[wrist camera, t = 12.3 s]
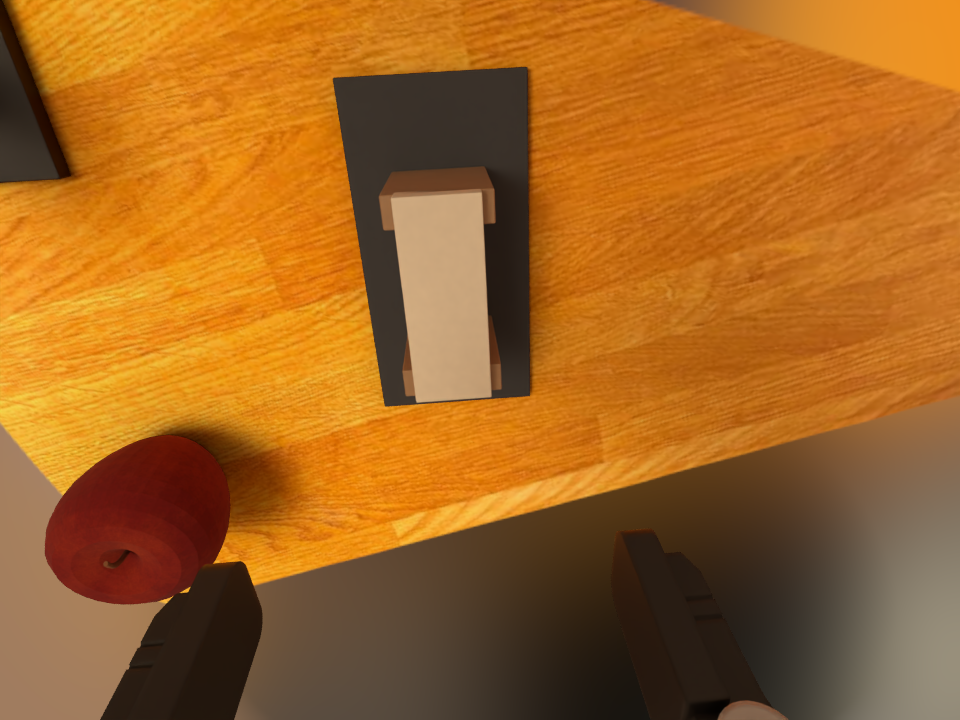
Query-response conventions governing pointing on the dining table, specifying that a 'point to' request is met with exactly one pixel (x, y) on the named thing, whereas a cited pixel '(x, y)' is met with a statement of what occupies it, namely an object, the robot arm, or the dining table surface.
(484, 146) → the mat
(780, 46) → the dining table surface
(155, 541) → the apple
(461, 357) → the beige wooden bench
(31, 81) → the stand
